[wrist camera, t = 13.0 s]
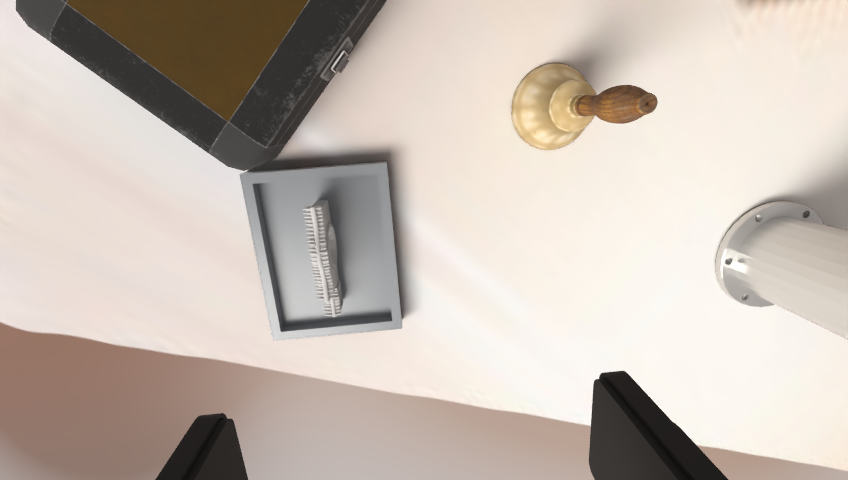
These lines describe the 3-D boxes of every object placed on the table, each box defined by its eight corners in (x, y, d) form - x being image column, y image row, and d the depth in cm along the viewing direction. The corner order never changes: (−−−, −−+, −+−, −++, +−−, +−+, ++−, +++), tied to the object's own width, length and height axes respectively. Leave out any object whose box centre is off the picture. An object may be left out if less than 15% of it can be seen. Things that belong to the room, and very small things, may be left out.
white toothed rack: (345, 303, 44) (338, 330, 39) (328, 305, 44) (319, 331, 39) (330, 196, 41) (320, 208, 35) (312, 197, 41) (299, 209, 35)
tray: (386, 161, 41) (386, 162, 39) (401, 319, 46) (402, 328, 44) (246, 171, 40) (239, 174, 38) (278, 331, 46) (273, 341, 44)
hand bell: (605, 81, 40) (733, 57, 25) (570, 160, 42) (669, 183, 27) (530, 50, 39) (618, 5, 24) (498, 133, 41) (560, 141, 26)
